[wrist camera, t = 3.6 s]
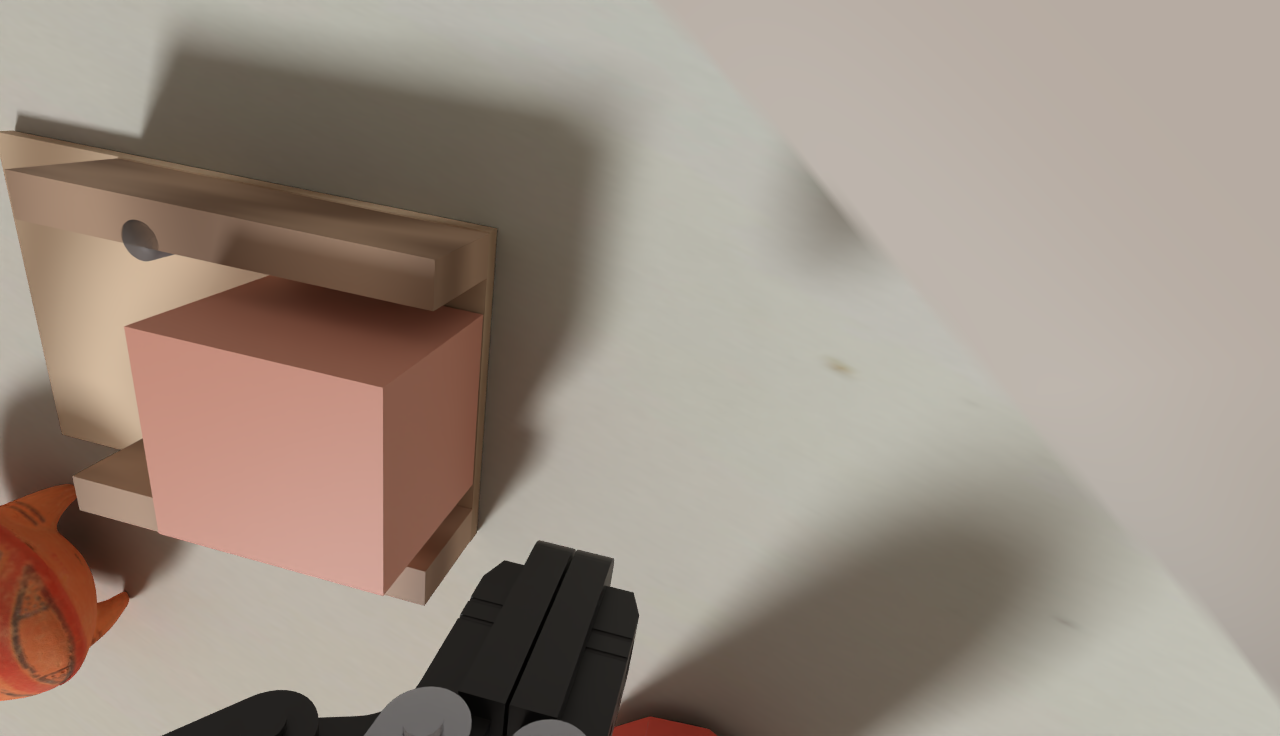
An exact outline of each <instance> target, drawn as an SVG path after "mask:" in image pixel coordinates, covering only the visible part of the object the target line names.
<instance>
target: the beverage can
mask: <svg viewBox="0 0 1280 736" xmlns="http://www.w3.org/2000/svg"><path fill="white" fill-rule="evenodd" d="M612 736H717V735H716V734H714V733H713V732H712V731H711V730H709V729H706V728H702V727H698V726H693V725H688V724H684V723H679V722H675V721H670V720H665V719H661V718H655V717H651V716H649V717H646V718H643V719H639V720H636V721H633V722H629V723H626V724H623V725H620V726H616V727H614V730H613V734H612Z"/></svg>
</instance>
